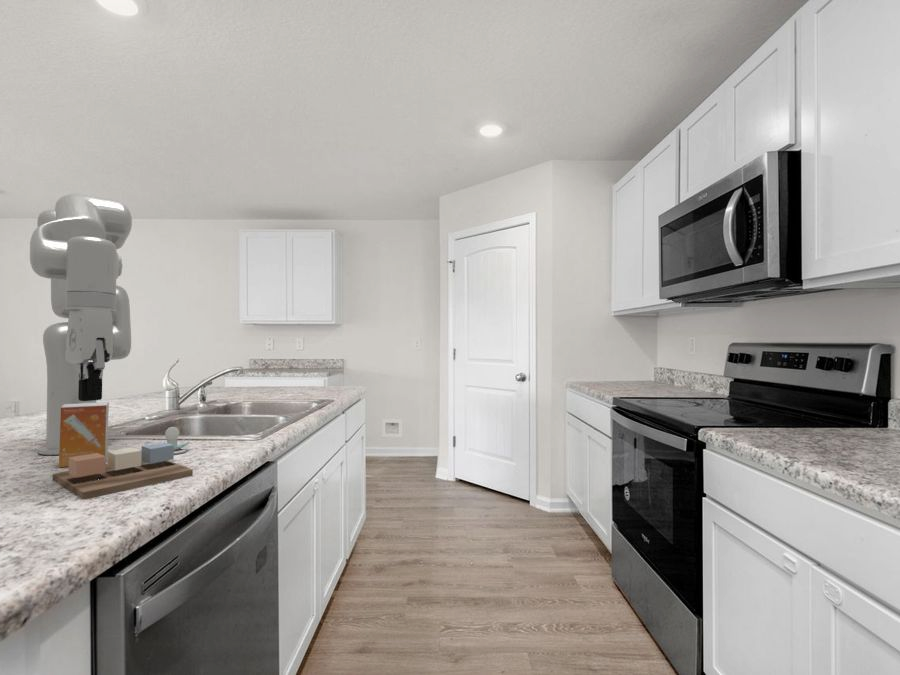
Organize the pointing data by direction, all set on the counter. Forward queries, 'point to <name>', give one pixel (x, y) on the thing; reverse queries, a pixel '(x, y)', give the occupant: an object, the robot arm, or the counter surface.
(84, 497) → the walnut board
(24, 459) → the counter surface
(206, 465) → the counter surface
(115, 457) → the cream cube
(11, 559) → the counter surface
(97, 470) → the pink square block
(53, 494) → the counter surface
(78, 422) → the small box
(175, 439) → the pacifier
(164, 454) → the blue cube
